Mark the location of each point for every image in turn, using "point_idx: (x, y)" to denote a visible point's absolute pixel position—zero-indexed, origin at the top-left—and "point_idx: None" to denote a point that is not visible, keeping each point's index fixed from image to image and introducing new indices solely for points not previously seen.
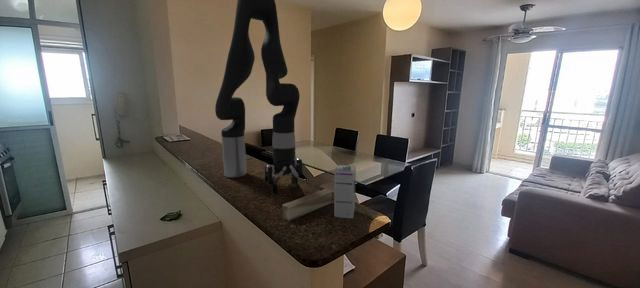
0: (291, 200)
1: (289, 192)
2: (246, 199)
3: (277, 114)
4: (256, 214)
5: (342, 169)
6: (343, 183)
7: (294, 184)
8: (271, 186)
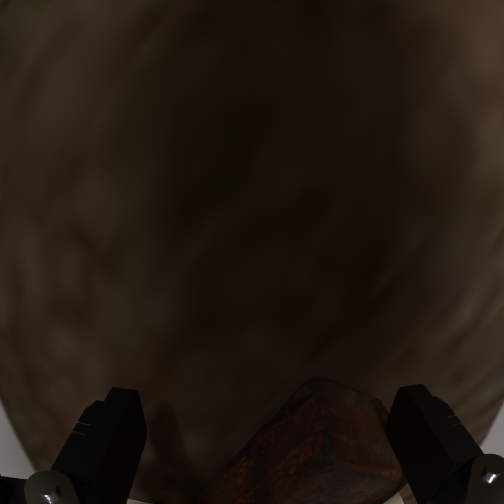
0: (217, 493)
1: (259, 482)
2: (6, 155)
3: None
4: (7, 397)
5: None
6: None
7: (367, 492)
8: (70, 464)
